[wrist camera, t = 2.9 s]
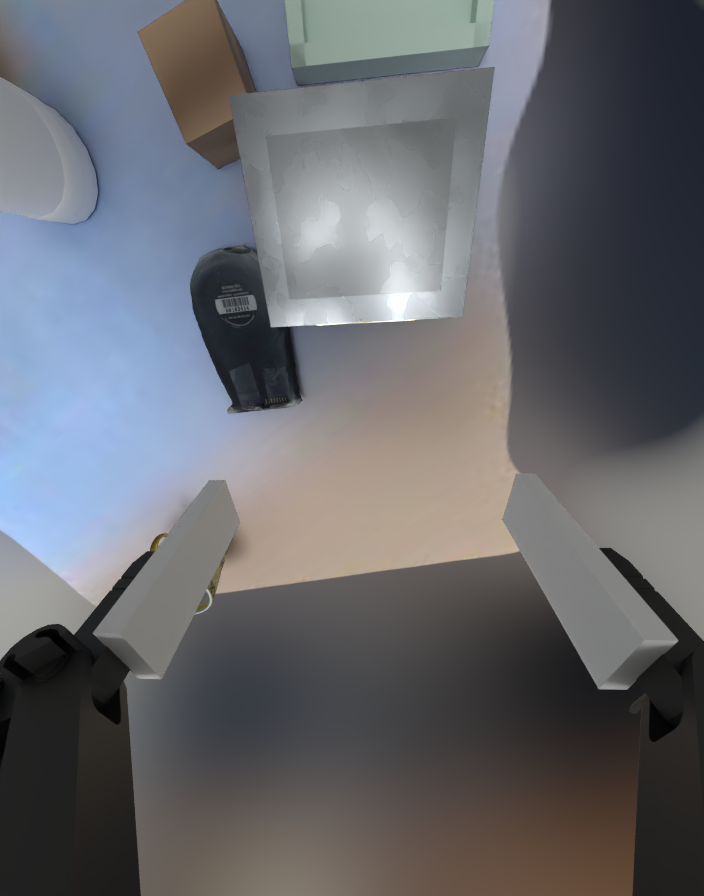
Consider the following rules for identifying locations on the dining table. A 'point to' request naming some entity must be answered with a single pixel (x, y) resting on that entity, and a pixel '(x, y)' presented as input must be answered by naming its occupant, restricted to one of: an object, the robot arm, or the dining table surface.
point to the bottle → (42, 161)
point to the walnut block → (200, 75)
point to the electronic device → (243, 331)
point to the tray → (384, 37)
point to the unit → (364, 195)
